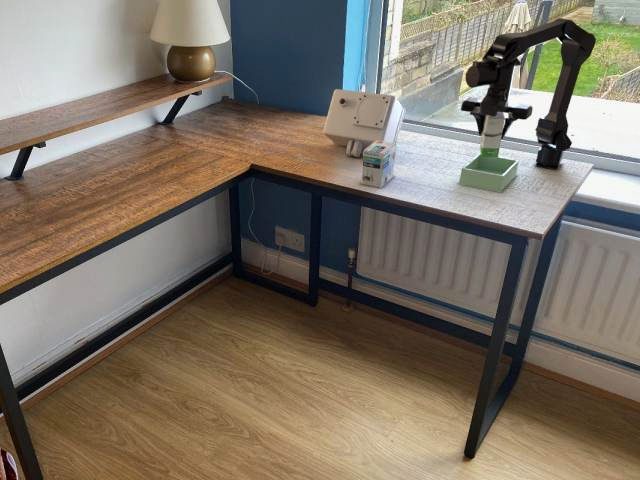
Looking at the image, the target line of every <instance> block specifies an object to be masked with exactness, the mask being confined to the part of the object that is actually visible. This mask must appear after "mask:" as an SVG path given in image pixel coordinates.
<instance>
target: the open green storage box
mask: <svg viewBox="0 0 640 480" xmlns="http://www.w3.org/2000/svg"><path fill="white" fill-rule="evenodd" d="M519 163H520V160H519V159H514V158H508V157H502V156H498V157H482V156H481V152H479V153H477V155H475V156H474V157H473V158H472V159H470V160H469V161H468V162H467V163H466V164H465V165H463V167H461V169H460V176H459V182H458V184H459V185H463V186H468V187H472V188H477V189H480V190H481V189H482V190H487V191H491V192H496V193H501V192H502V191H503V190H504V189H505V188H506V187H507V186H508V185H509V184H510V183H511V181H513V180H514V178H516V176H517V172H518V168H519Z"/></svg>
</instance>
